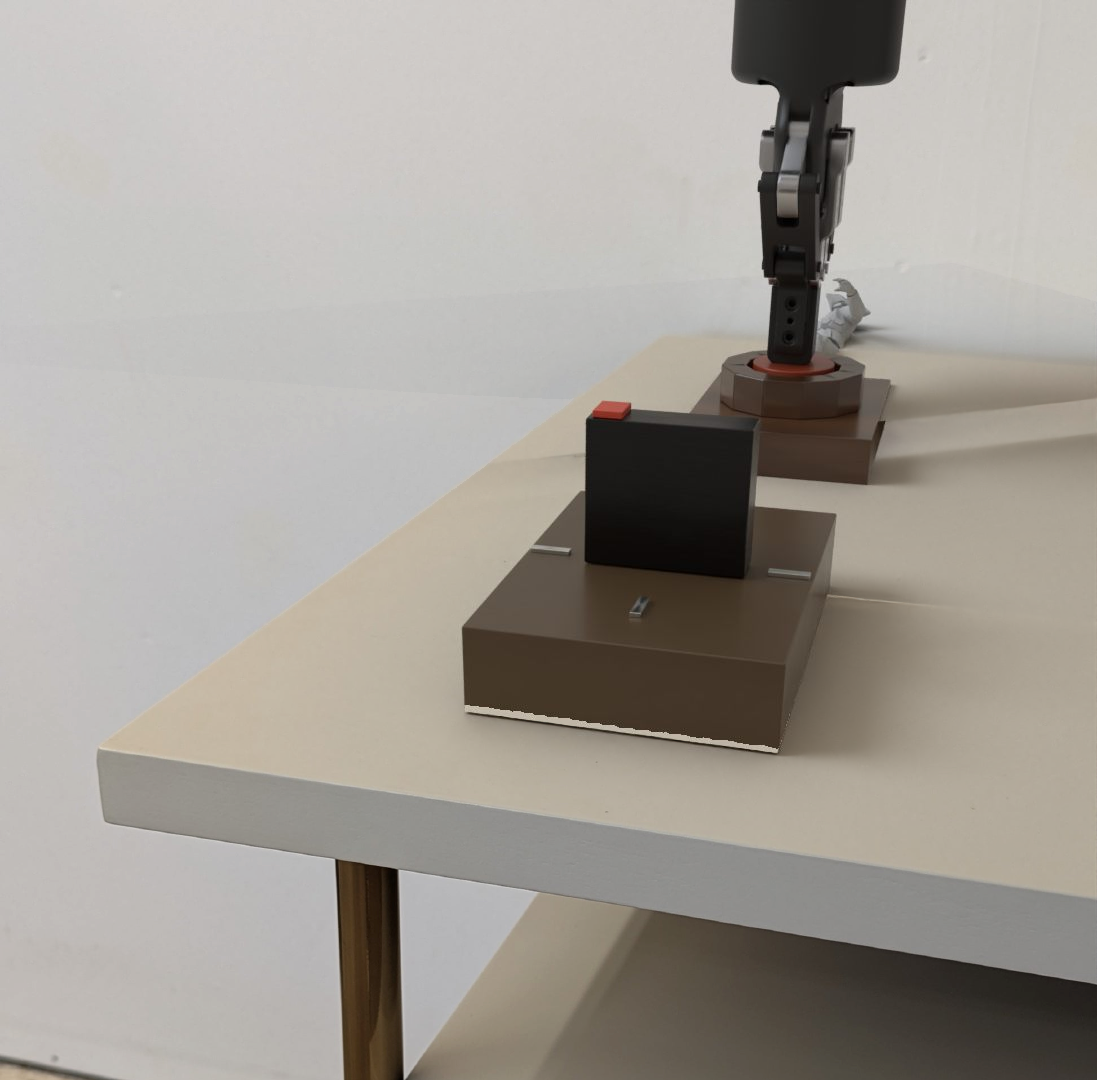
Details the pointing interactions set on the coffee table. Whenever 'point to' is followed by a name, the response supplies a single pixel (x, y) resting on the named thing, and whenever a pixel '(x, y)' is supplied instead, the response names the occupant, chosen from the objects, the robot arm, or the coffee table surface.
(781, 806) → the coffee table surface
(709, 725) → the plate
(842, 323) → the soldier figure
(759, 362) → the red push button
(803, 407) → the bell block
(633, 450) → the battery-shaped black case
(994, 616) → the coffee table surface
